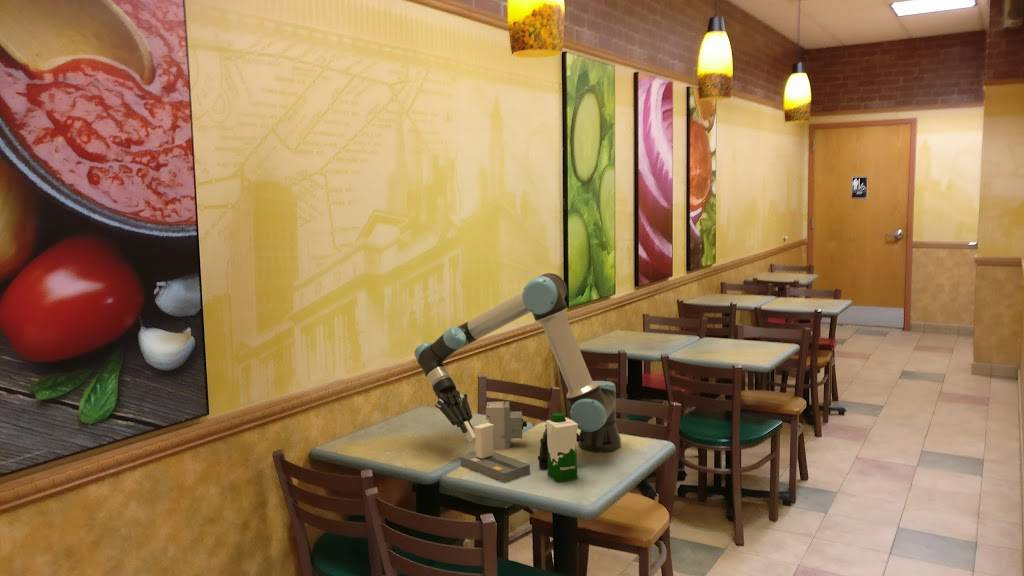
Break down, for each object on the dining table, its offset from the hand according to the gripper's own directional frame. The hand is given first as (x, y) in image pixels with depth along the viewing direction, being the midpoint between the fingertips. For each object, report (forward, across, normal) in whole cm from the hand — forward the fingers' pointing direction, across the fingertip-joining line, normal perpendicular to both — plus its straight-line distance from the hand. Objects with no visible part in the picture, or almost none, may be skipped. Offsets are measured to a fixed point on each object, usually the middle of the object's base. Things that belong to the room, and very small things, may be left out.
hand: (473, 439), depth 269 cm
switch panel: (+13, 0, +2) cm, 13 cm away
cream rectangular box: (+7, 0, +1) cm, 7 cm away
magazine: (+23, -16, +12) cm, 30 cm away
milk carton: (+28, -11, +17) cm, 34 cm away
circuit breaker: (+2, -19, -9) cm, 21 cm away
